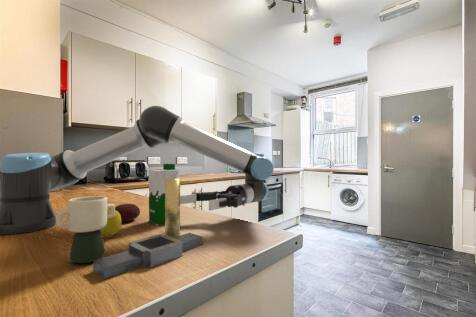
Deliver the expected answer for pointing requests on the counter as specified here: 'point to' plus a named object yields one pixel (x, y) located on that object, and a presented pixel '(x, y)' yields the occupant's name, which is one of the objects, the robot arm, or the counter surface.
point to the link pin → (172, 207)
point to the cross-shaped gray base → (146, 254)
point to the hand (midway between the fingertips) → (193, 202)
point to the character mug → (86, 226)
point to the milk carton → (159, 192)
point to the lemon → (112, 224)
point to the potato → (128, 212)
